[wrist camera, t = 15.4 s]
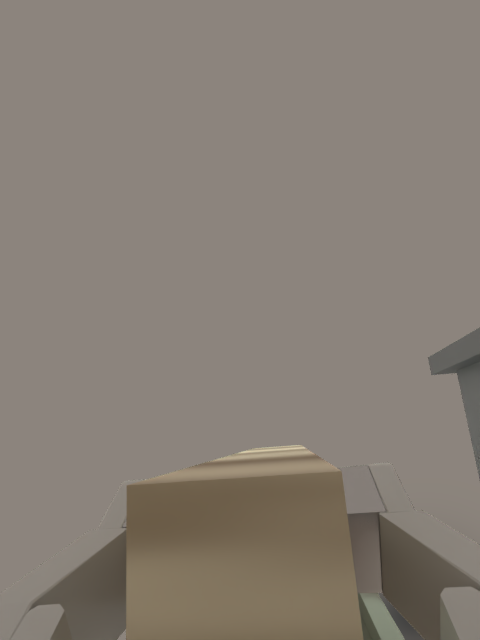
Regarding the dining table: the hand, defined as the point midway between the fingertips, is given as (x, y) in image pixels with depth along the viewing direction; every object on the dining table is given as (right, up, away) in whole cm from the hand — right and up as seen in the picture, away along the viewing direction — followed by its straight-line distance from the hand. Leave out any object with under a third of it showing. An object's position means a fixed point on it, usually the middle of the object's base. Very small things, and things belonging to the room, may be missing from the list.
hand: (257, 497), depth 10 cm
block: (+1, -4, +6) cm, 7 cm away
